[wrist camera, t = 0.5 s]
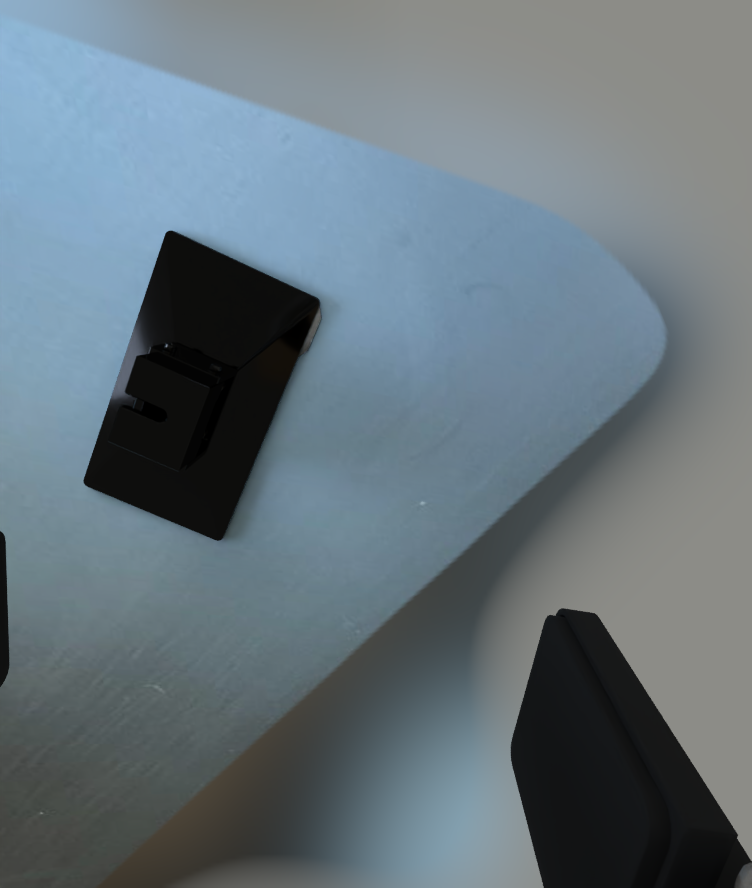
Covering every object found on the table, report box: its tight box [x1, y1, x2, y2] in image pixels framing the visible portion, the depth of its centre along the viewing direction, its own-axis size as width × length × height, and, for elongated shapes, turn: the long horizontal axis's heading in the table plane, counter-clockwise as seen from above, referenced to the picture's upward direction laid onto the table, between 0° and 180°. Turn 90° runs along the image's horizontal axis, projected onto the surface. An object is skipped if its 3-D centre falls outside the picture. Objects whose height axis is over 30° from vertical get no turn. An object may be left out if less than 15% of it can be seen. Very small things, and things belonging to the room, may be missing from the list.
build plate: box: [84, 231, 321, 541], centre depth 23 cm, size 12×7×5 cm, turn 156°
